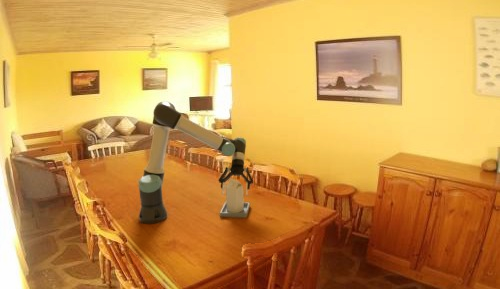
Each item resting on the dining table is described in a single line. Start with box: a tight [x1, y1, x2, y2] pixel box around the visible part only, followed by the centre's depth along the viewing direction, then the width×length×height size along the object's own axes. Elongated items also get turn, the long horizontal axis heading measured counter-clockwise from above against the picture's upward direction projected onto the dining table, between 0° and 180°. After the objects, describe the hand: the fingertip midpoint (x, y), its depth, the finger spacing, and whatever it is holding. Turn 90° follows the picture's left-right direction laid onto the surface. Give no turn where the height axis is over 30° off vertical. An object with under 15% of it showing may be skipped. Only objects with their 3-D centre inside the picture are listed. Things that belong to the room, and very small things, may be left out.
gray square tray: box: [219, 201, 251, 219], centre depth 175 cm, size 15×15×2 cm
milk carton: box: [225, 178, 245, 213], centre depth 173 cm, size 7×7×19 cm
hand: (234, 194), depth 171 cm, fingers open, 13 cm apart
